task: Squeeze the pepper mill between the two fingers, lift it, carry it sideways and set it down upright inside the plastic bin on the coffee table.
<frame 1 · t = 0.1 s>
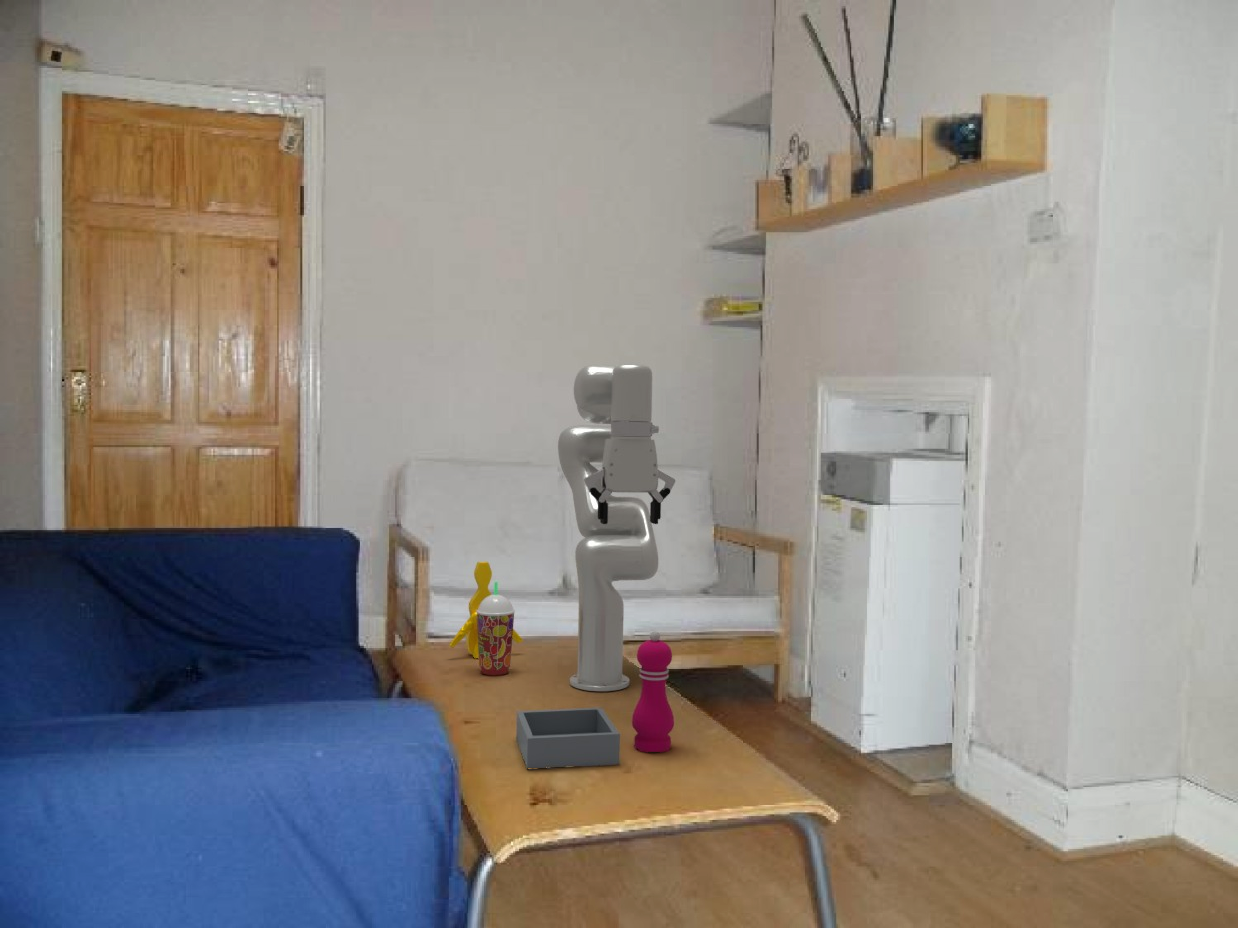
hand: (629, 523, 183), 37 cm above the table, tool pointing down, fingers open, 9 cm apart
bin: (566, 751, 165), on the table
pepper mill: (652, 748, 168), on the table
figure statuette: (484, 656, 231), on the table
smoothie: (494, 673, 216), on the table
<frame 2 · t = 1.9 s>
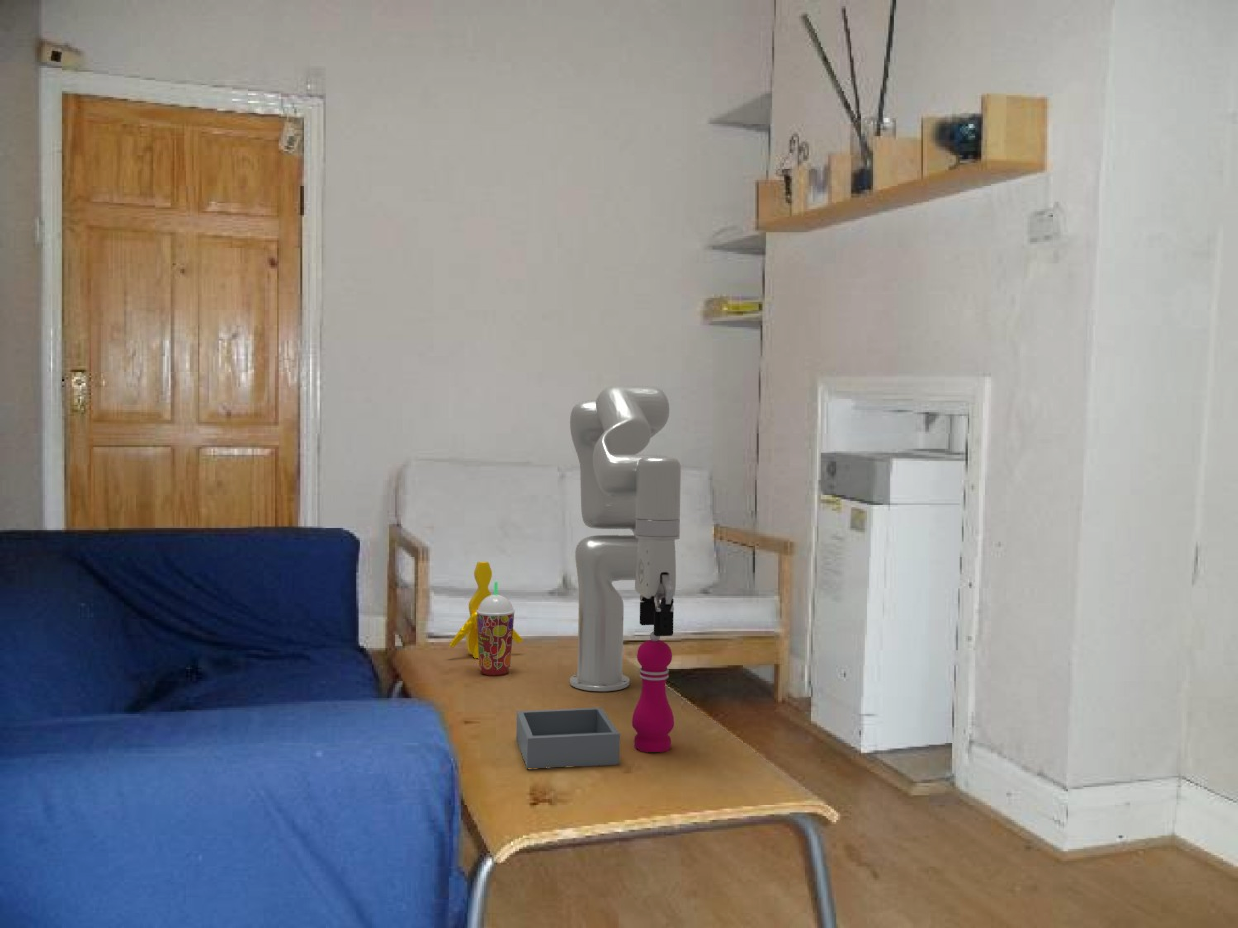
hand: (655, 629, 167), 20 cm above the table, tool pointing down, fingers open, 9 cm apart
nothing on the table moved.
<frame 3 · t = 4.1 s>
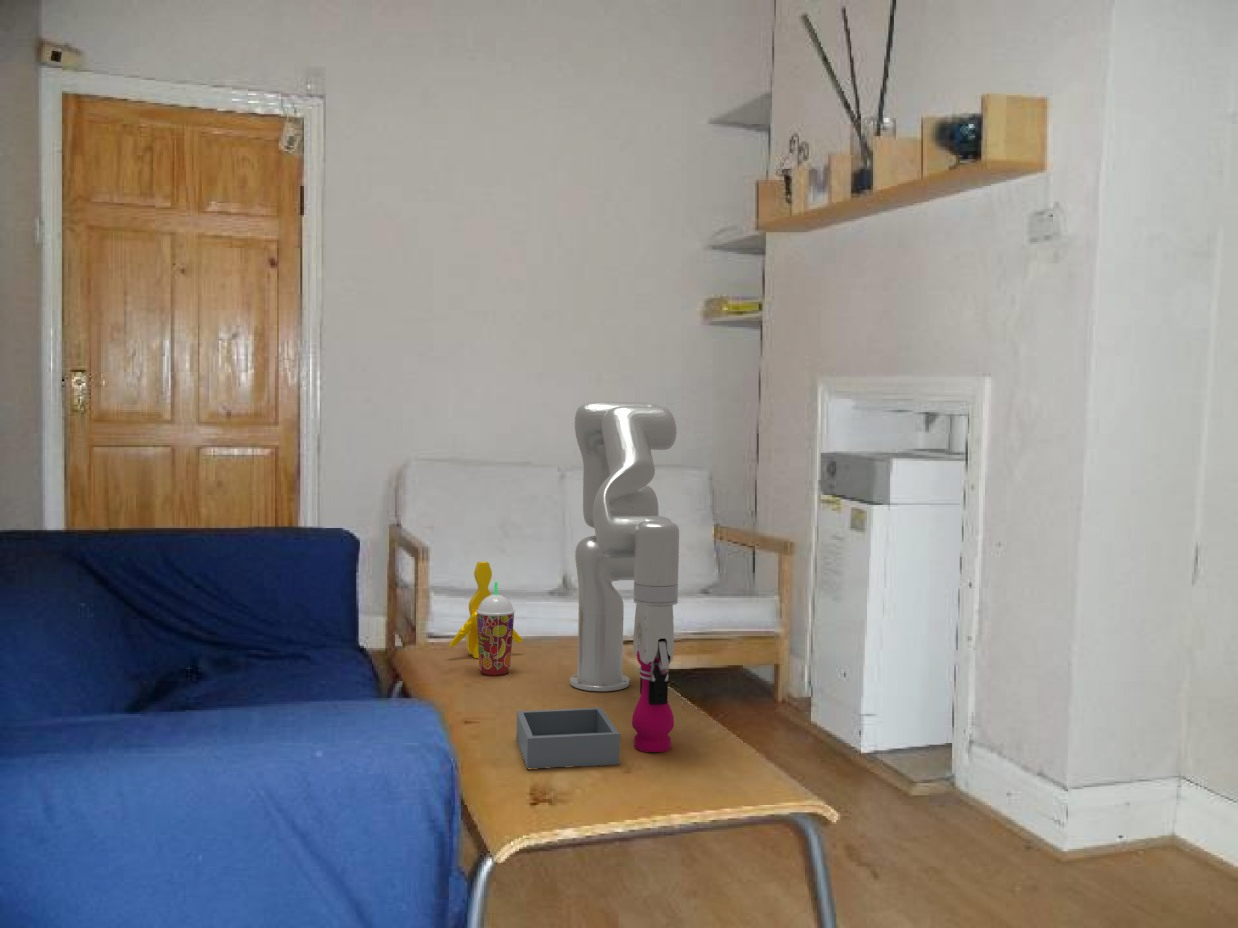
hand: (653, 698, 167), 8 cm above the table, tool pointing down, fingers closed on pepper mill, 5 cm apart
pepper mill: (652, 748, 168), on the table, touching gripper
everything else where it was.
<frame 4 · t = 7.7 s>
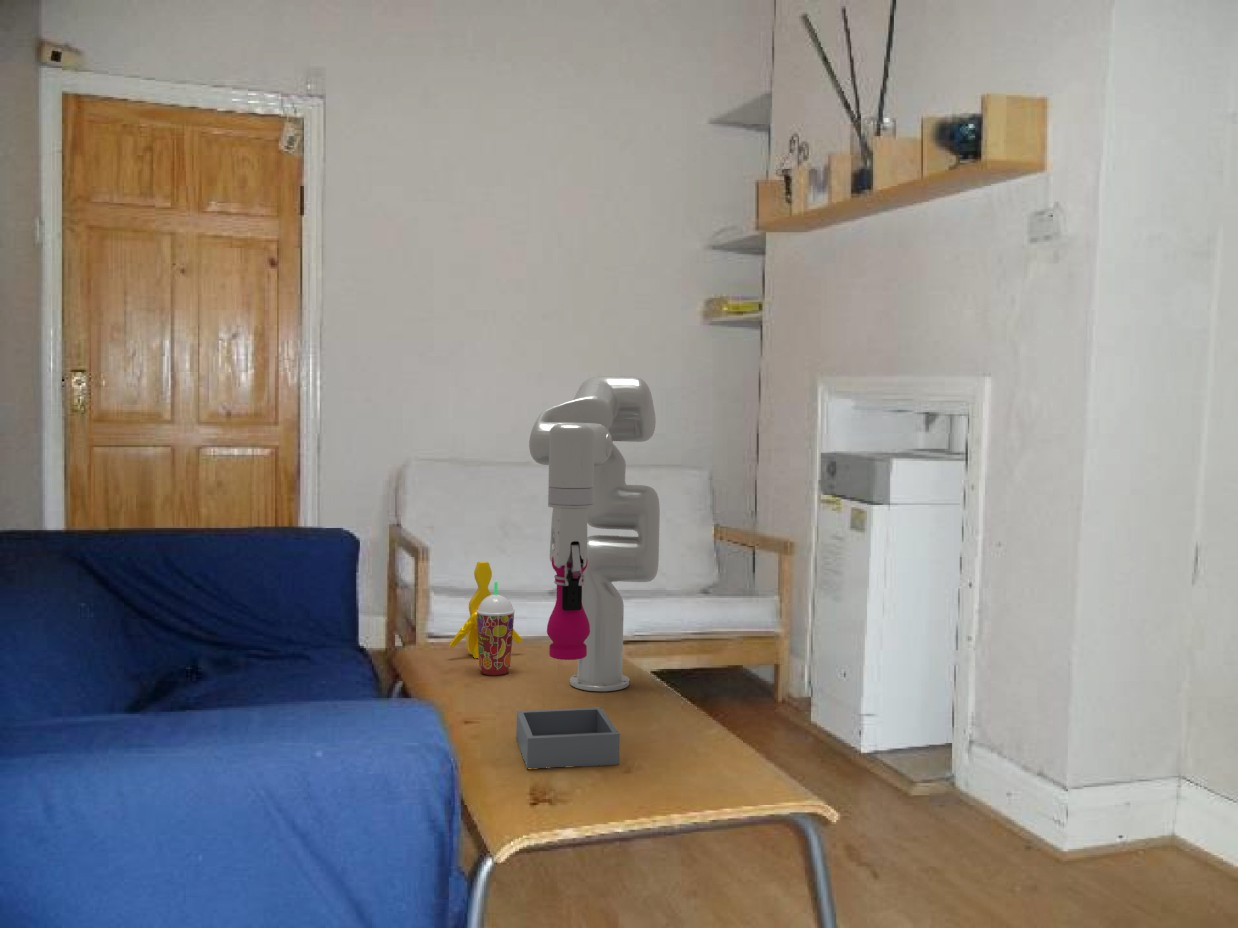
hand: (568, 605, 164), 25 cm above the table, tool pointing down, fingers closed on pepper mill, 5 cm apart
pepper mill: (567, 656, 164), point 16 cm above the table, touching gripper
everything else where it was.
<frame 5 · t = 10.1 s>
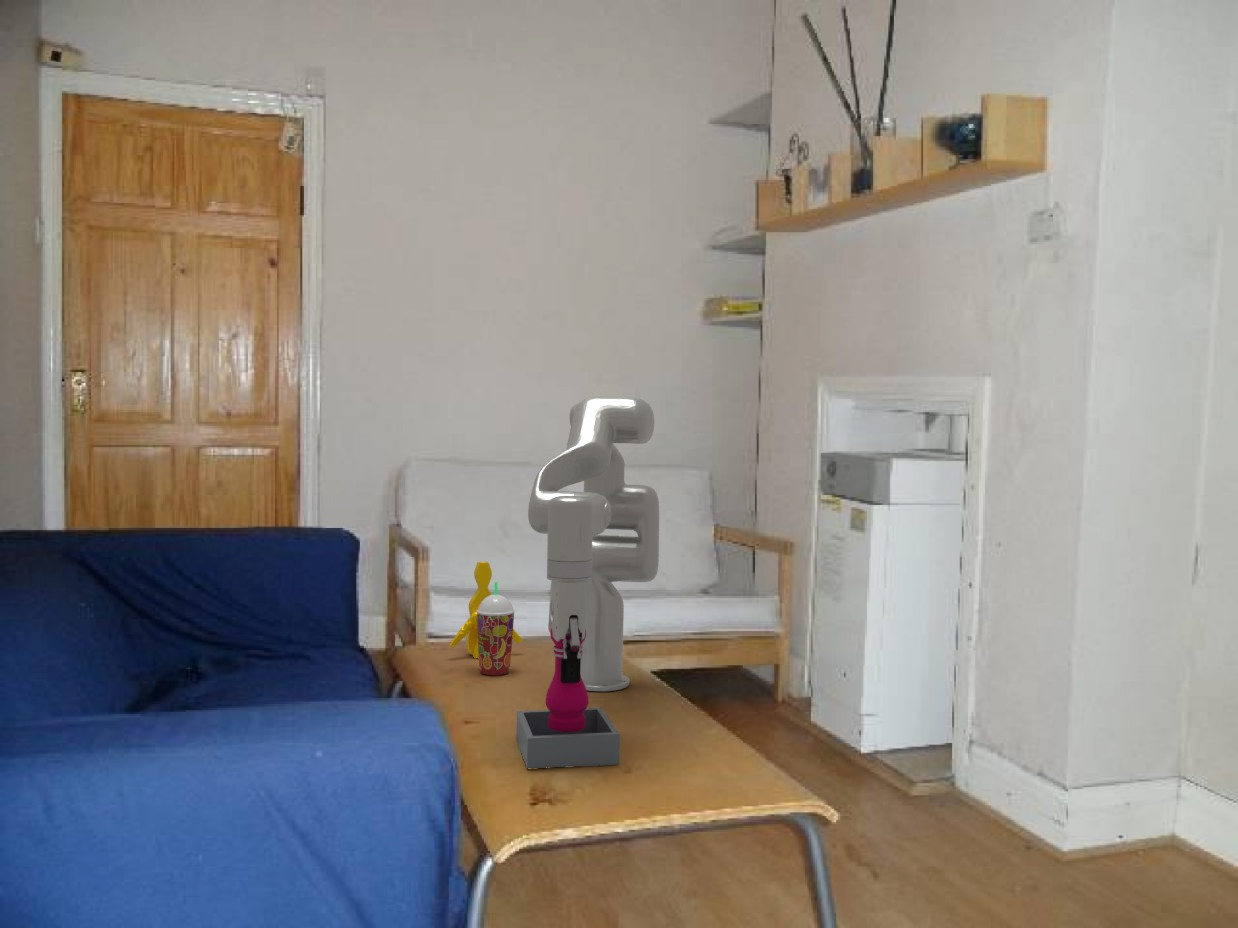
hand: (567, 676, 164), 13 cm above the table, tool pointing down, fingers closed on pepper mill, 5 cm apart
pepper mill: (566, 727, 164), point 4 cm above the table, touching gripper
everything else where it was.
when the fingers open (11 cm above the table, at t = 11.6 s): pepper mill drops 1 cm, resting on bin.
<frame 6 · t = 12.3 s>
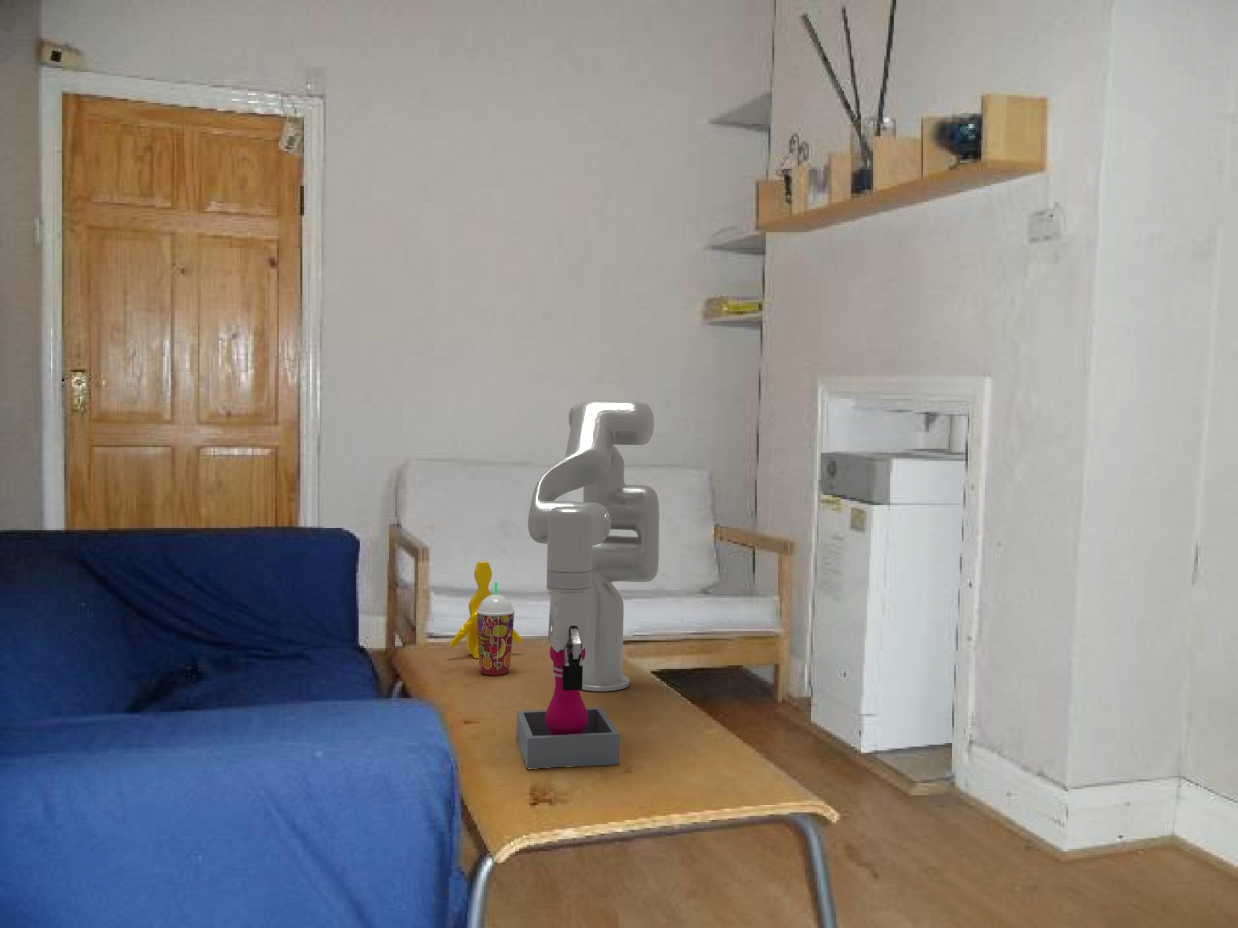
hand: (567, 681, 164), 12 cm above the table, tool pointing down, fingers open, 9 cm apart
pepper mill: (566, 746, 165), point 1 cm above the table, touching bin
everything else where it was.
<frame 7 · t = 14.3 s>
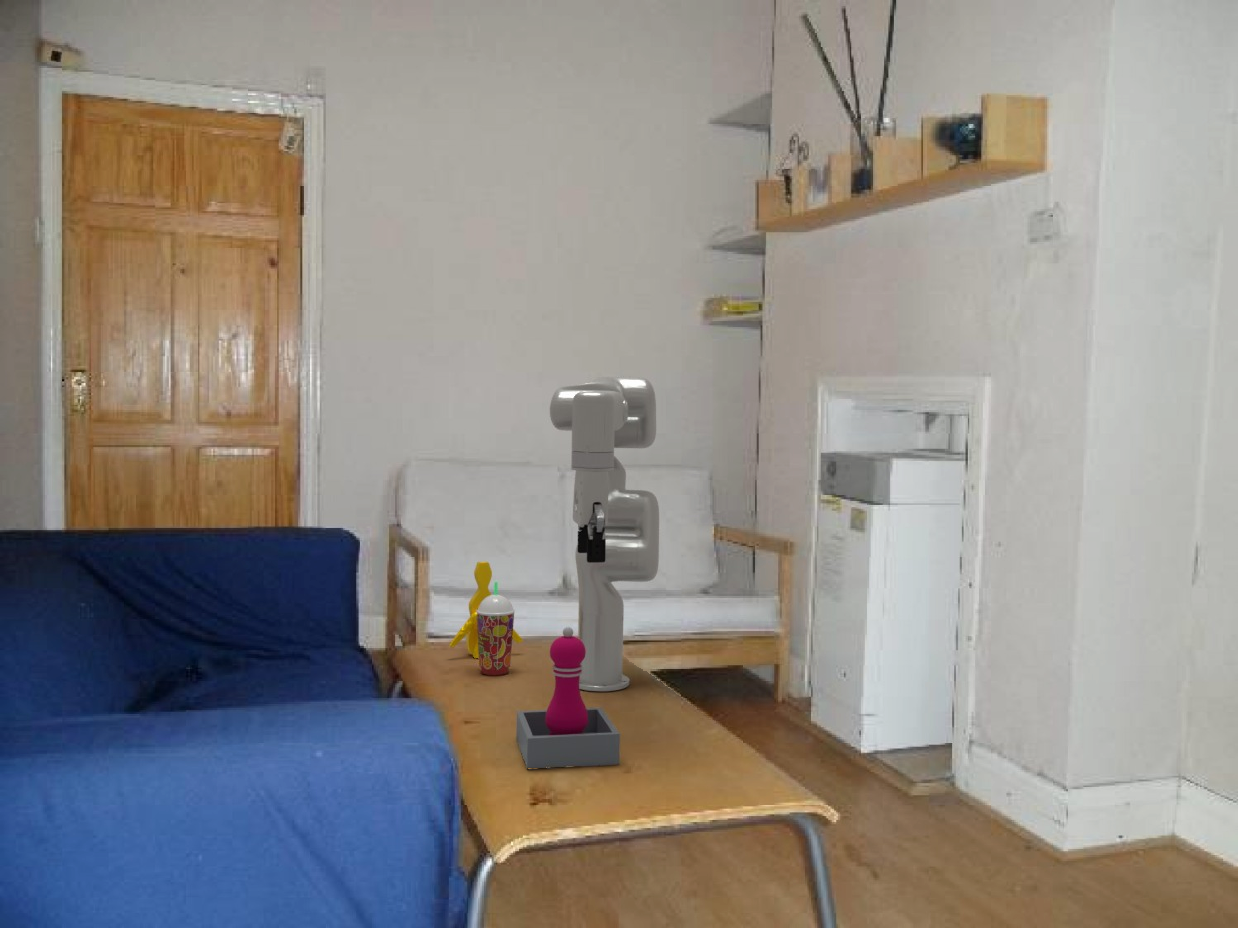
hand: (591, 557, 174), 31 cm above the table, tool pointing down, fingers open, 9 cm apart
nothing on the table moved.
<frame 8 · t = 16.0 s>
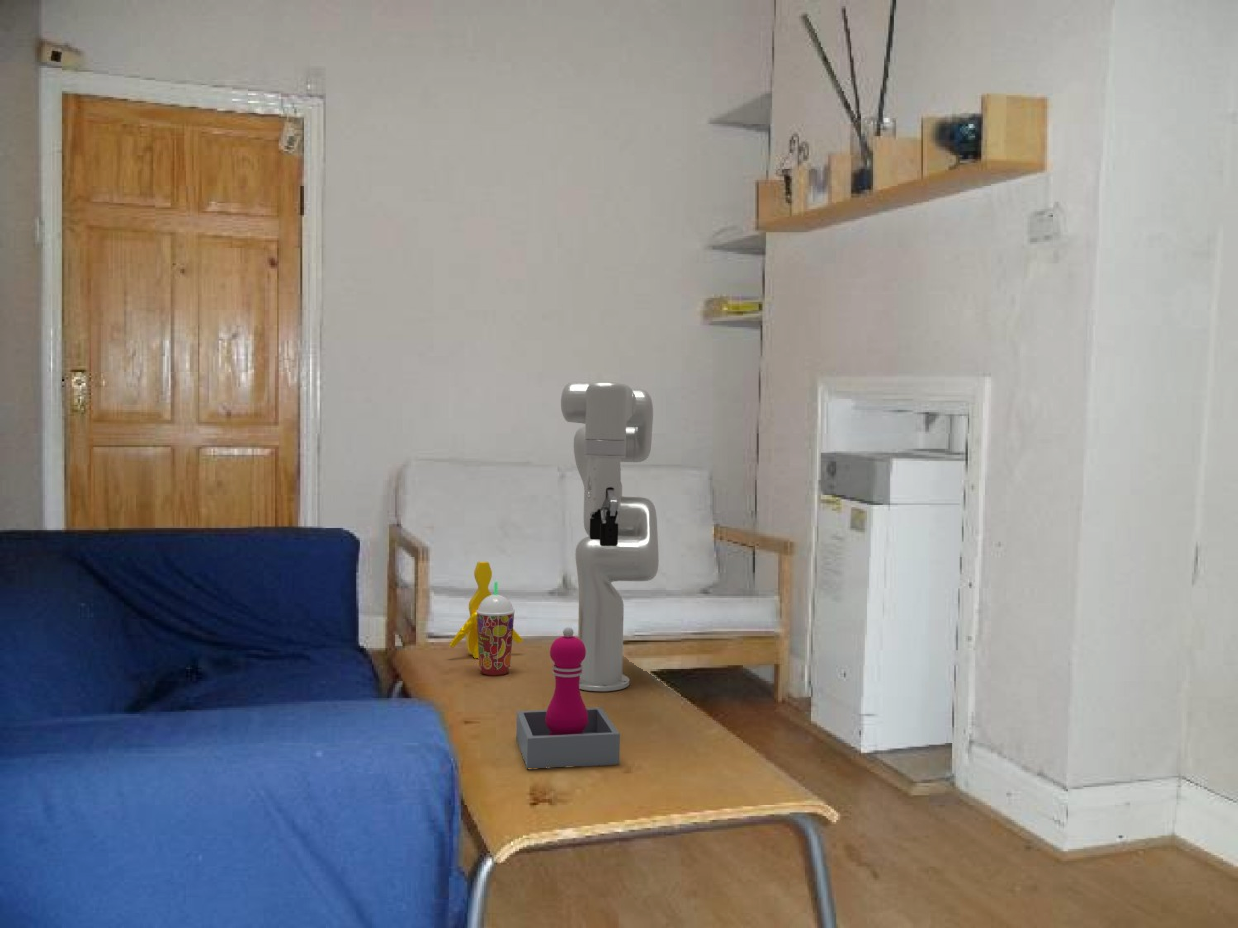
hand: (603, 542, 181), 33 cm above the table, tool pointing down, fingers open, 9 cm apart
nothing on the table moved.
at the end: pepper mill inside the target area on the bin (0.1 cm from its centre), point 0.8 cm above the bin's base; pepper mill tilted 0°; the gripper is holding nothing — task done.
